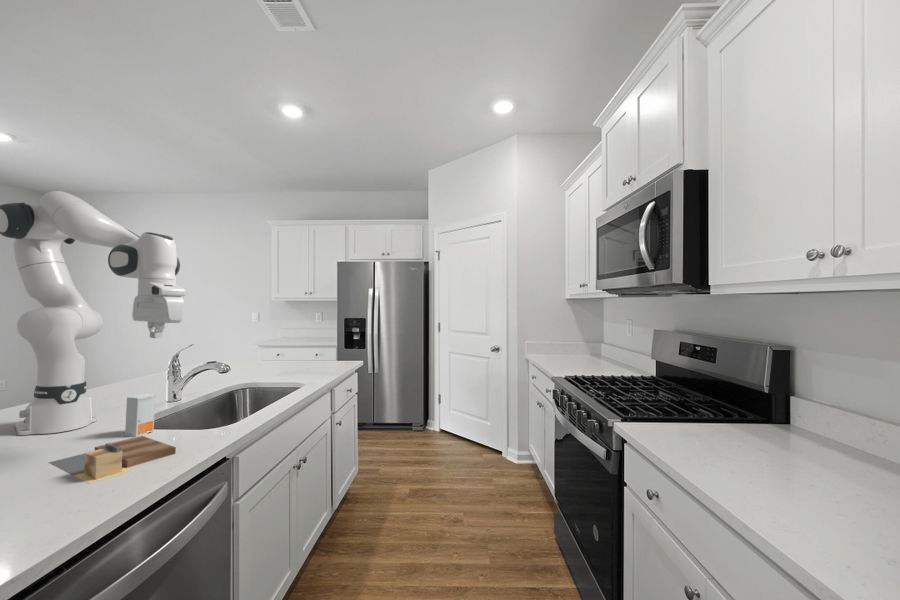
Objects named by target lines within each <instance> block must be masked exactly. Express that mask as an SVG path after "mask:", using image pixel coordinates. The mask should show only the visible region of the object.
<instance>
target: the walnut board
mask: <svg viewBox="0 0 900 600" xmlns="http://www.w3.org/2000/svg"><path fill="white" fill-rule="evenodd" d="M110 443H111V444H114V445H116V446H119V447H121V451H122V467H124V468H126V469H128V468H132V467H134V466H137V465H142V464H145V463H148V462H151V461H155V460H159V459H163V458H165V457H169V456H173V455H176V449H177V448H176V446H173V445H170V444H167V443H164V442H162V441H158V440H156V439H152V438H149V437H146V436H143V435H140V436H137V437H130V438H127V439H122V440H120V441H119V440H118V441H115V442H110ZM103 448H105V444H102V445H98V446H95V447H94V450H98V449H103Z"/></svg>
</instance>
